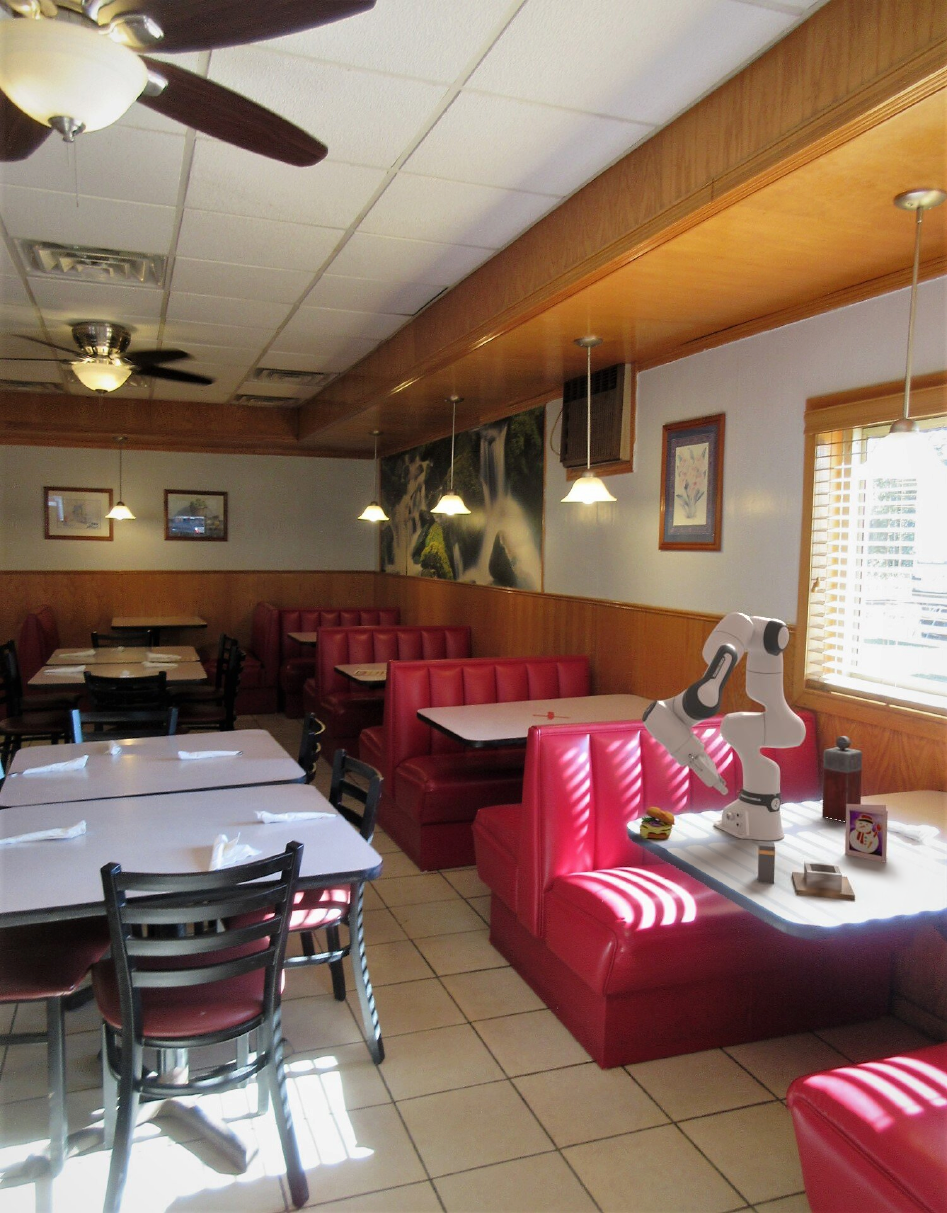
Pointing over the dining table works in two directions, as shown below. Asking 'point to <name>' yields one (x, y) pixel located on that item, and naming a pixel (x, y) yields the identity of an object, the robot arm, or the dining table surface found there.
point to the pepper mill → (841, 779)
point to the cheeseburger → (657, 824)
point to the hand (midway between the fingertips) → (725, 789)
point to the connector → (766, 862)
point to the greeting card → (866, 831)
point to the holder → (822, 881)
